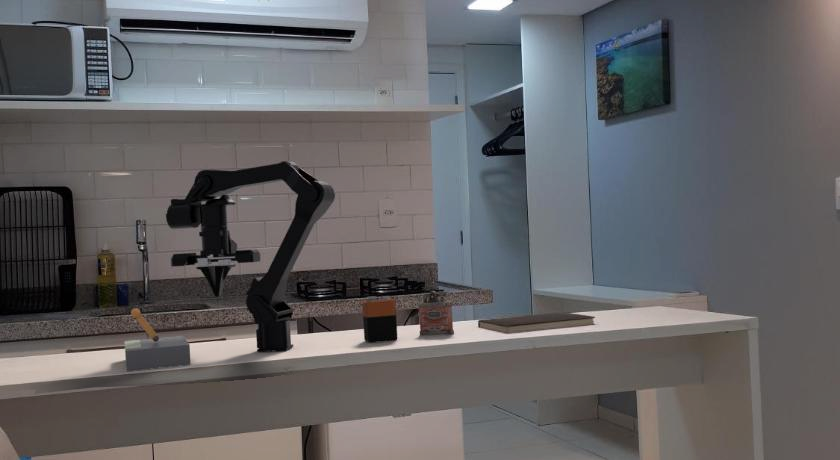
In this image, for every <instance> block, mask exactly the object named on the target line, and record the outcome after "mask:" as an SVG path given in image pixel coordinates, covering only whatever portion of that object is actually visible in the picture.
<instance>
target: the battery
mask: <svg viewBox="0 0 840 460" xmlns="http://www.w3.org/2000/svg"><path fill="white" fill-rule="evenodd" d="M361 304H362V320H363V336H364V337H363V338H364V341H365V342H367V343H370V344H371V343H381V342H391V341H392V342H393V341H397V340H398V325H397V324H398V321H397V306H396V305H397V303H396V300H395V299H393V298H391V297H390V295H386V296H385V295H383V296H382V298H381V299H379V298H378V299H377V296H366V300H363V301H362V303H361Z"/></svg>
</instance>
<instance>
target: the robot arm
mask: <svg viewBox="0 0 840 460" xmlns="http://www.w3.org/2000/svg"><path fill="white" fill-rule="evenodd" d="M278 182H284V183H285V184H286V185H287V186H288V187H289V188H290V190H291V191H292V192H293V193H295V194H296V195H297V197H296V200H295V205H294V207H295V208H294V216H293V219H292V220H291V223H290V225H289V227H288V229H287V230H286V233H285V235H284V237H283V240H282V241H281V243H280V245H279V247H278V249H277V251H276V254H275V256H274V258H273V260H272V262H271V264H270V266H269V268H268V270H267V272H266V273H265V274H264V275H263V276H259V277H258V276H257V277H254V278H253V279H252V281H251V284H250V287H249V288H248V290H247V291H246V292H245V295H247V297H246V299H245V305H246V308H247V310H248V312H249V313H250V314H251V316H252V318H253V321H254V323H255V324H257V327H258V328H257V329H256V331H255V333H256V334H255V335H256V352H258V353H259V352H260V353H261V352H285V351H288V350H290V349H291V348H293V347H294V344H293V343H292V340H291V338H292V336H291V319H292V318H293V313H294V311H295V310H294V309H293V308H292V307H291V306H290V304H288V303H287V302H286V301H285V296H286V292H287V281H288V278H289V276H290V275H291V272H292V270H293V267H294V266H295V265H296V262H297V261H298V258H299V256H300V254H301V252H302V250H303V248H304V245H305V244H306V241H307V240H308V237H309V236H310V233H311V231H312V230H313V227H314V225H316V223H317V222H318V221H319V220H320V219H321V218H322V217H323V216H324V215H325V214H326V213H327V212H328V210H329V208H330V207H331V206H332V204H333V203H334V202H335V199H336V193H335V190H334V188H333V186H332V185H331V184H330V183H328V182H325V181H320V180H319V179H317V178H316V177H314V175H312V174H310V173H308V172H307V171H305V170H304V169H302V168H301V167H300V166H299V165H298V164H297V163H296V162H292V161H281V162H277V163H273V164H272V163H271V164H265V165H261V166H254V167H249V168H248V167H247V168H243V169H237V170H221V169H202V170H200V171H198V172H197V174H196V175H195V177H194V182H193V184H192V186H191V188H190V189H189V191H188V193H187V195H186V196H185V198H183V199H182V198H181V199H180V198H171V199H170V204H169V206H168V208H167V210H166V213H165V219H166V223H167V225H168V226H169V228H170V229H171V230H178V229H179V230H183V229H184V230H185V229H196V228H198V227H199V226H200V231H199V233H198V235H199V237H201V250H199V252H200V253H199V254H198V255H197V252H186V253H173V254H172V256H171V257H170V267H171V268H172V267H185V266H195V265H196V264H197V266H196V267H195V268H196V270H200V272H201V273H202V274H203V276H204V277H205V279H206V281H207V283H208V285H209V287H210V289H211V290H212V293H213V294H214V297H215V298H221V296H222V293H223V289H224V285H225V282H226V279H227V276H228V275H229V272H230V271H231V269H232V268H235V267H236V263H235V262H237V263H238V264H246V263H258V262H261V253H260V251H259V250H258V249H257V248H256V249H255V248H254V249H241V250H238V243H236V241H235V240H233V239H232V238H231V232H230V230H229V228H228V216H227V215H228V213H227V206H235V205H236V202H235V201H234V200H233V199H232V198H231V197H229V195H230V194H231V193H234V192H236V191H237V190H239V189H242V188H247V187H254V186H258V185H266V184H267V185H268V184H272V183H278ZM218 197H219V198H218ZM211 255H212V257H210V256H211ZM216 262H217V263H218V264H217V265H216V264H215V263H216Z"/></svg>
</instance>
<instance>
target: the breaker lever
mask: <svg viewBox="0 0 840 460" xmlns="http://www.w3.org/2000/svg"><path fill="white" fill-rule="evenodd" d="M140 310H141V309H139V308H135V307H134V308H133V309H132V310H130V311H131V312H130V313H131V317H132V318H134V319H136V320H137V322H138V323H139V325H140V326H141V327H142V329H144V331H145V332H146V333H147V334H148V335H149V337H150V339H153V341H155V342H157V341H158V340H159V338H160V337H159V335H158V334H157V333H156V331H154V329H153V327H151V325H150V324H149V323H148V321H147V320H146V319H145V318H144V316H143V315H142V314H141V313H142V312H141V311H140Z"/></svg>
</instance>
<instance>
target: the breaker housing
mask: <svg viewBox="0 0 840 460" xmlns="http://www.w3.org/2000/svg"><path fill="white" fill-rule="evenodd" d="M190 348H191V347H190V343H189V342H188V341H187V339H186V338H185V337H184V335H177V336H167V337H159V340H158V341H157V342H155V341H153V339H152V338H146V339H145V338H144V339H134V340H133V339H132V340H124V354H125V356H124V357H125V369H126V372H134V371H135V370H136V371H143V369H145V370H152V369H151V368H154V369H160V368H159V367H164V368H170V367H169V366H173V367H179V365H182V366H189V365H188V364H191V350H190Z"/></svg>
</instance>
